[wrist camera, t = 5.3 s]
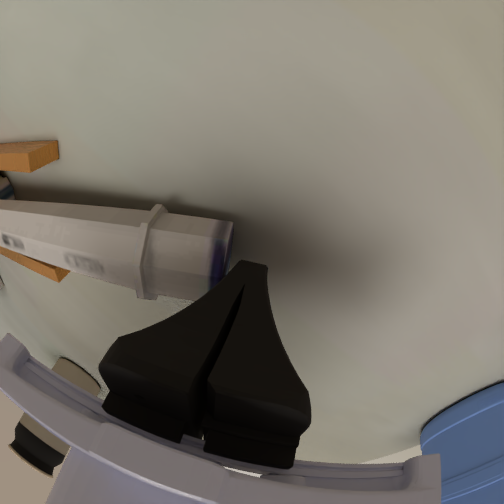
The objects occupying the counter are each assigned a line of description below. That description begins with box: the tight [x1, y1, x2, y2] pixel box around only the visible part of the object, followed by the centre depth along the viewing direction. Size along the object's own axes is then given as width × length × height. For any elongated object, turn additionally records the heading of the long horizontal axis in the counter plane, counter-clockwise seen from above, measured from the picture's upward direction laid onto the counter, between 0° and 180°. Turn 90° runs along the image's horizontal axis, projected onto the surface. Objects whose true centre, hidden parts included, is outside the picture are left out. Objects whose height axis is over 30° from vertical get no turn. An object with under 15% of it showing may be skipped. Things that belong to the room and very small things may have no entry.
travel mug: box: [8, 358, 100, 478], centre depth 25 cm, size 8×8×18 cm
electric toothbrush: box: [0, 176, 234, 301], centre depth 13 cm, size 5×7×25 cm
